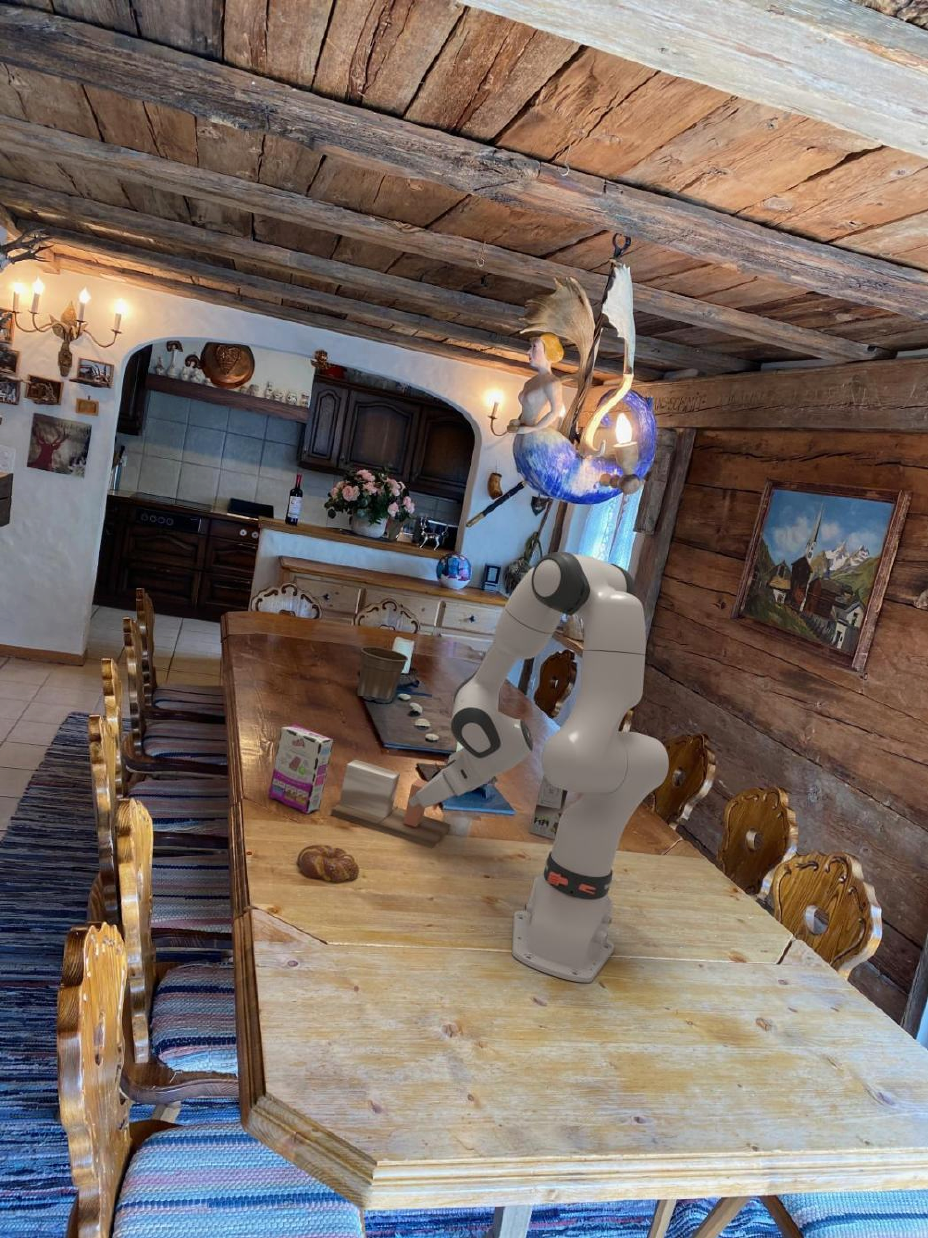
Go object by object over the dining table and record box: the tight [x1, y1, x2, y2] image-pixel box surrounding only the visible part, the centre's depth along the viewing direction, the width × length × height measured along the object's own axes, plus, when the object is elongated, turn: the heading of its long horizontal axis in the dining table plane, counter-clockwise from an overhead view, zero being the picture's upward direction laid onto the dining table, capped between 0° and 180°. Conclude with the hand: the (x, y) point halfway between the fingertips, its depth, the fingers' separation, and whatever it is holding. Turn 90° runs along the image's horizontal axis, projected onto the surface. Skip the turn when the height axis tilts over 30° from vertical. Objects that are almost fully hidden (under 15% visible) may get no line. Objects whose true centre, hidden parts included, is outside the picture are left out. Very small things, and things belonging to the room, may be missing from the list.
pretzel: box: [297, 844, 360, 883], centre depth 162 cm, size 12×11×4 cm
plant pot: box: [356, 646, 409, 699], centre depth 290 cm, size 16×16×16 cm
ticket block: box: [330, 759, 451, 850], centre depth 190 cm, size 12×24×11 cm, turn 74°
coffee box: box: [529, 774, 569, 841], centre depth 205 cm, size 9×6×16 cm
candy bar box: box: [268, 724, 334, 814], centre depth 188 cm, size 11×5×16 cm, turn 62°
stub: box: [403, 778, 429, 827], centre depth 188 cm, size 4×3×9 cm, turn 164°
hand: (415, 799), depth 188 cm, fingers open, 4 cm apart
